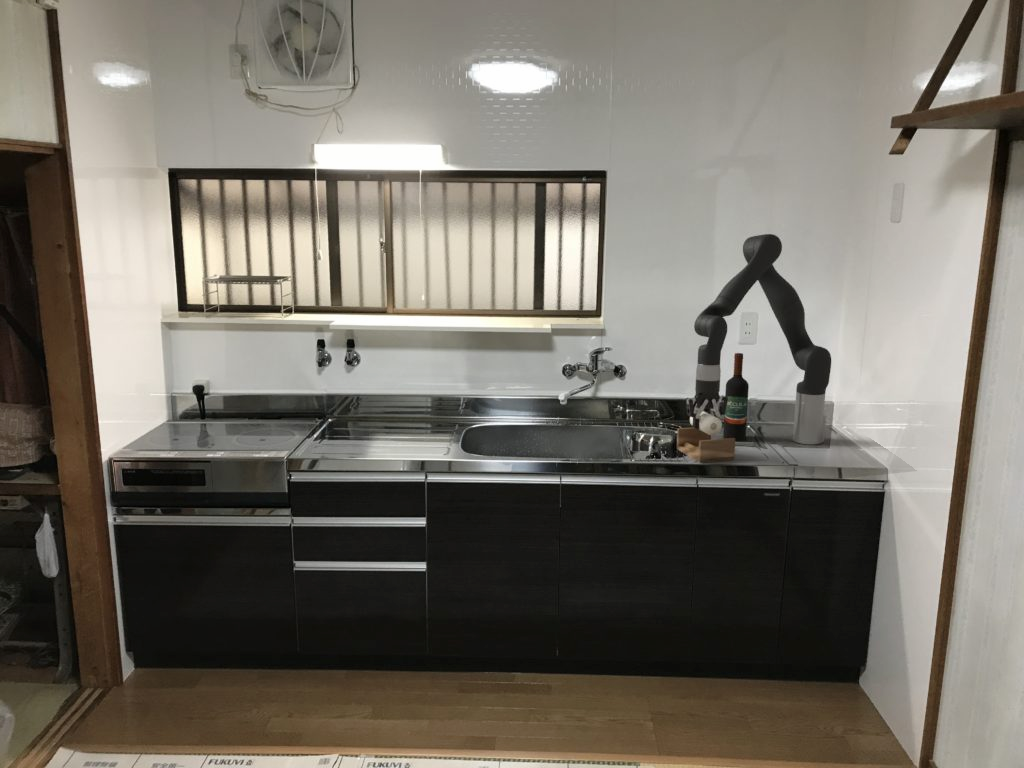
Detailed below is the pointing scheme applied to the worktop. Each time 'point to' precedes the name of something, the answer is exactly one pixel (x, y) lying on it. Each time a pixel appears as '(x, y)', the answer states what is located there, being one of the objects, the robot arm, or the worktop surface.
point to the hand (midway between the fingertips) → (705, 428)
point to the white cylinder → (708, 423)
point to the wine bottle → (736, 403)
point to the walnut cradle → (704, 445)
